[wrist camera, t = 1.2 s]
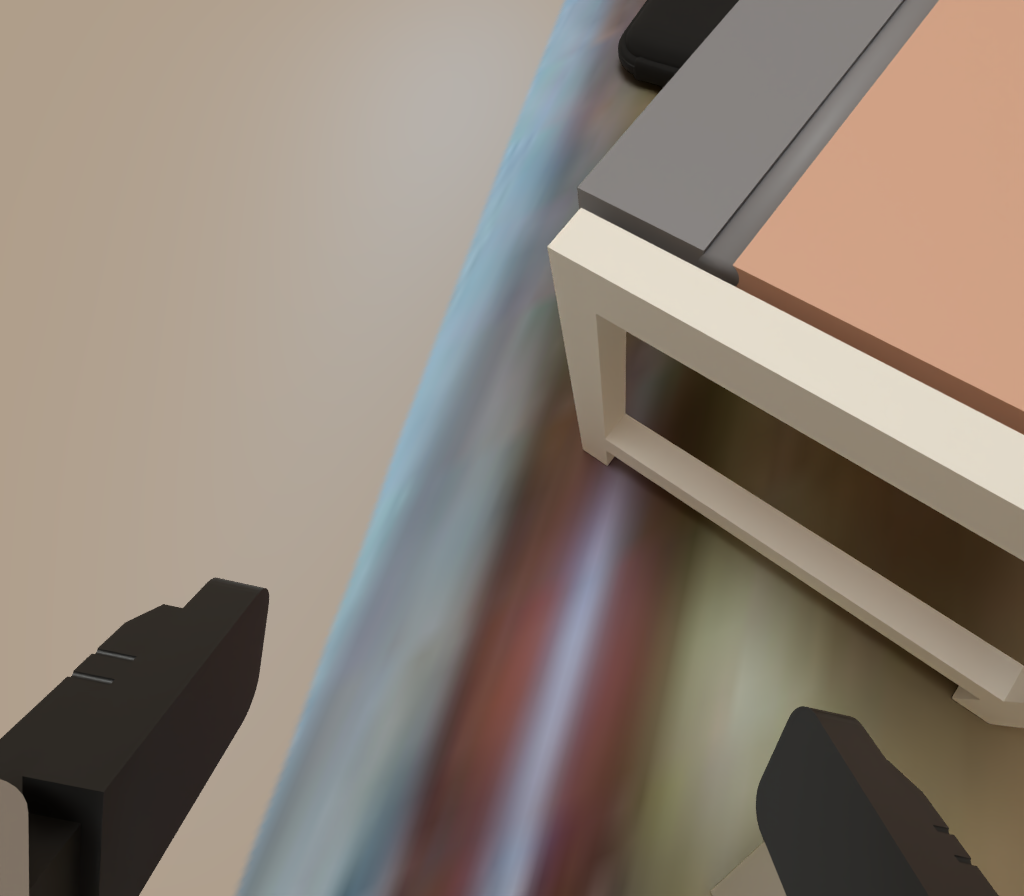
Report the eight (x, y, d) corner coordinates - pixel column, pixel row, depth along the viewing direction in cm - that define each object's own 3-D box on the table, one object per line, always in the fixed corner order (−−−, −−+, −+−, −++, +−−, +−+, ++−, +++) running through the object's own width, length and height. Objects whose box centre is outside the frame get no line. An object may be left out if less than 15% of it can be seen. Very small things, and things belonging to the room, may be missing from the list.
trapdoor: (809, 5, 23) (845, -126, 20) (1436, 211, 17) (1669, 77, 13) (585, 274, 21) (577, 184, 17) (1221, 628, 15) (1430, 610, 11)
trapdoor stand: (777, 200, 35) (892, -156, 20) (1185, 384, 28) (1823, 50, 13) (583, 449, 31) (547, 246, 17) (989, 723, 25) (1535, 792, 10)
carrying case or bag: (597, 94, 40) (825, 166, 35) (595, 50, 37) (842, 122, 33) (676, -16, 42) (900, 37, 38) (679, -66, 39) (922, -15, 35)
